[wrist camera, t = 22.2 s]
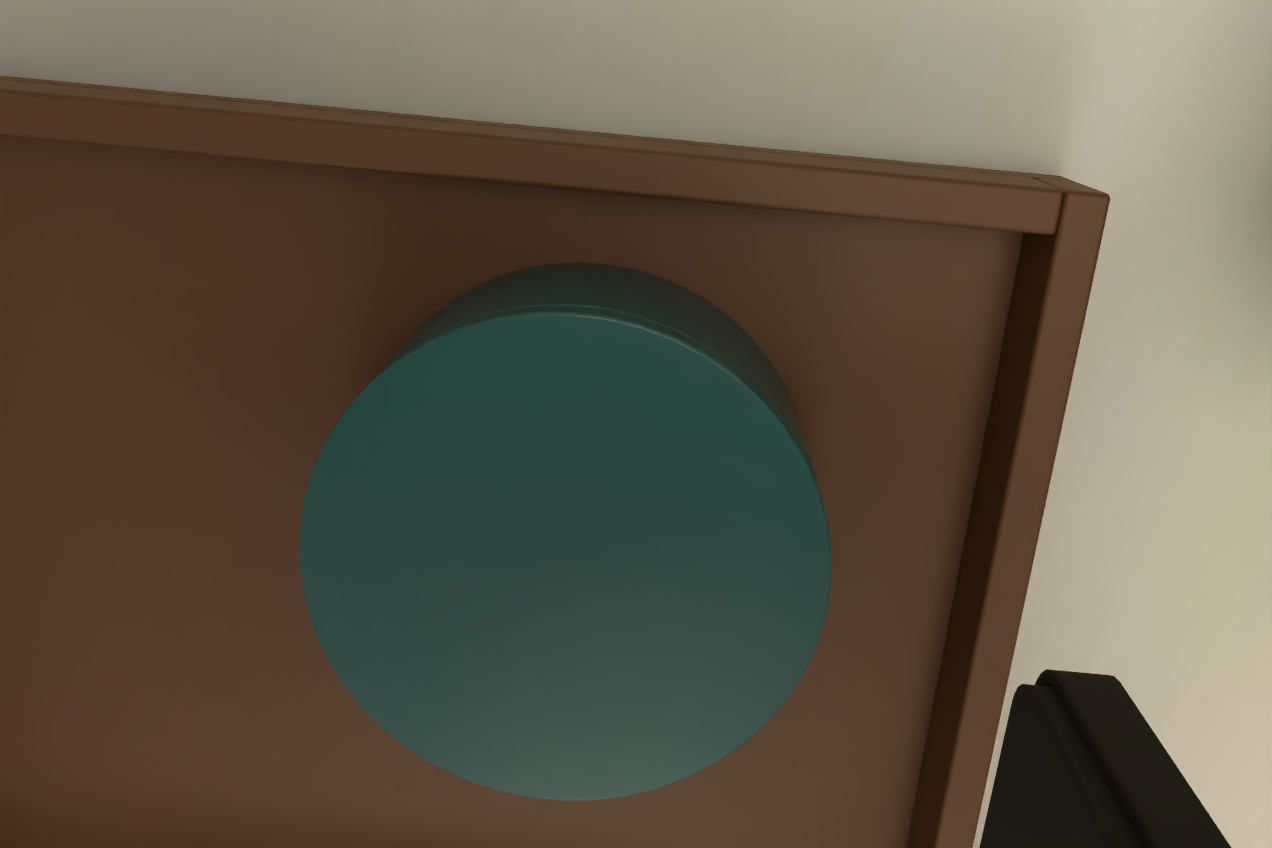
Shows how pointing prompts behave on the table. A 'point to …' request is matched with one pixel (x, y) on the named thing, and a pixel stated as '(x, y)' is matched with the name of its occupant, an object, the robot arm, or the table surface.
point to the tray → (363, 344)
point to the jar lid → (569, 537)
